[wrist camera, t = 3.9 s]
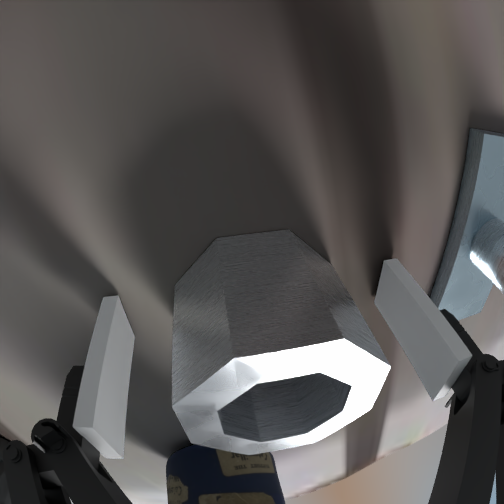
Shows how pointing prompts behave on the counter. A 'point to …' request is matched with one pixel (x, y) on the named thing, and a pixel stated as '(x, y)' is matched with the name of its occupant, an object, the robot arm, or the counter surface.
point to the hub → (269, 347)
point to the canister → (221, 477)
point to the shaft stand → (475, 231)
